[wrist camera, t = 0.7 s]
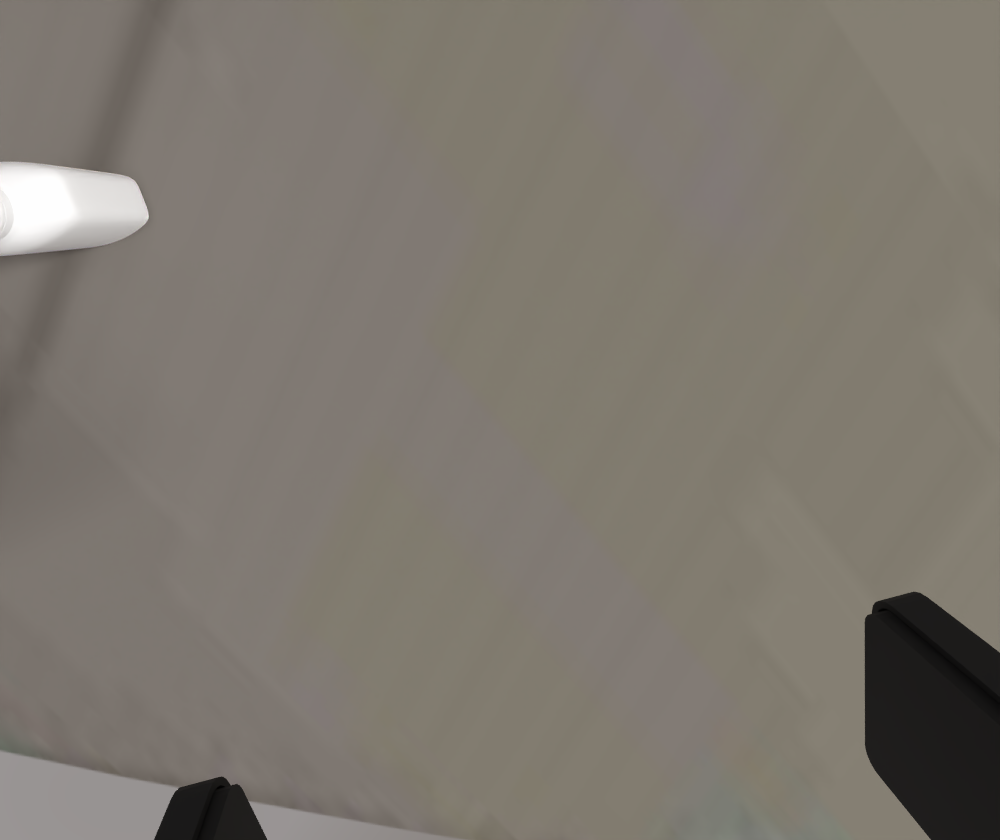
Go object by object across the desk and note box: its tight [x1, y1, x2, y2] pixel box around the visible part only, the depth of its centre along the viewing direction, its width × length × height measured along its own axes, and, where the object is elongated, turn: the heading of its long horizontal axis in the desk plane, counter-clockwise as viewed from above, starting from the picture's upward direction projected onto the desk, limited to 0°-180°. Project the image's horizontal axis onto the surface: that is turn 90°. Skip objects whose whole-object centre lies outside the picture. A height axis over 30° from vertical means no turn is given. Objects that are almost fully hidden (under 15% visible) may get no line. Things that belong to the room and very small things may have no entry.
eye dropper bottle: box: [0, 162, 149, 256], centre depth 26 cm, size 4×6×12 cm
